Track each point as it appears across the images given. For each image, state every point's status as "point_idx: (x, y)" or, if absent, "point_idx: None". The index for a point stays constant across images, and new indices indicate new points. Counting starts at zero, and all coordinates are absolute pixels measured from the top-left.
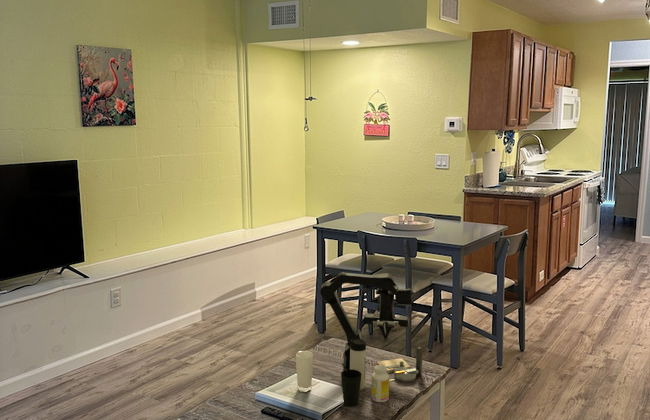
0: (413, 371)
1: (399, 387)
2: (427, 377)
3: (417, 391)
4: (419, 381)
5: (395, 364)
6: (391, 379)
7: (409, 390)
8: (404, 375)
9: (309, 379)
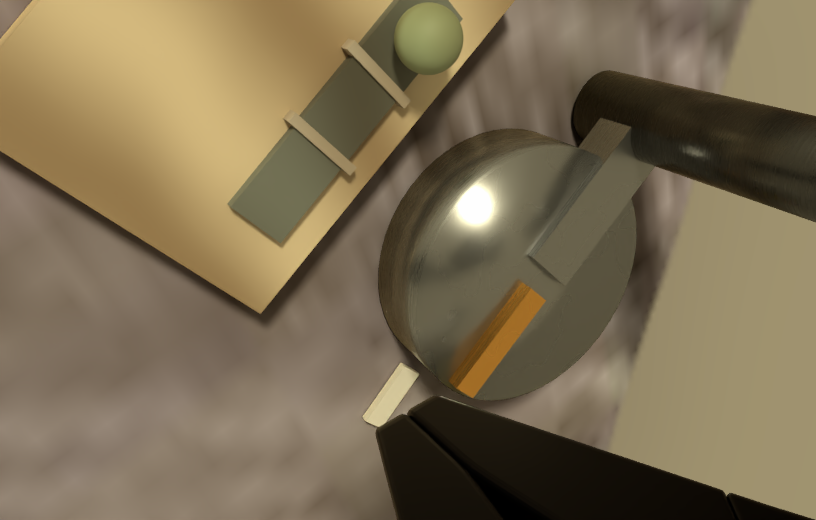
0: (611, 214)
1: None
2: None
3: (622, 396)
4: None
5: (311, 37)
6: (388, 394)
7: (569, 426)
8: (544, 357)
9: None
